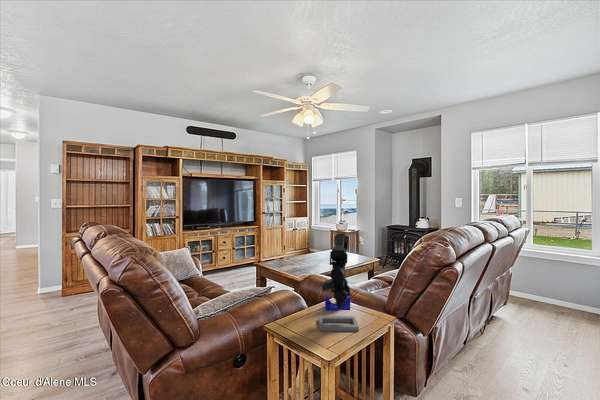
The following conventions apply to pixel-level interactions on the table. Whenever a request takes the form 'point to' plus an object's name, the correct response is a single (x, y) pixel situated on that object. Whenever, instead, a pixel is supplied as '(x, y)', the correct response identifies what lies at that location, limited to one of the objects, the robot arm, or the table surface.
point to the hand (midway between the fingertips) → (338, 307)
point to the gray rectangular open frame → (336, 326)
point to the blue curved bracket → (333, 307)
